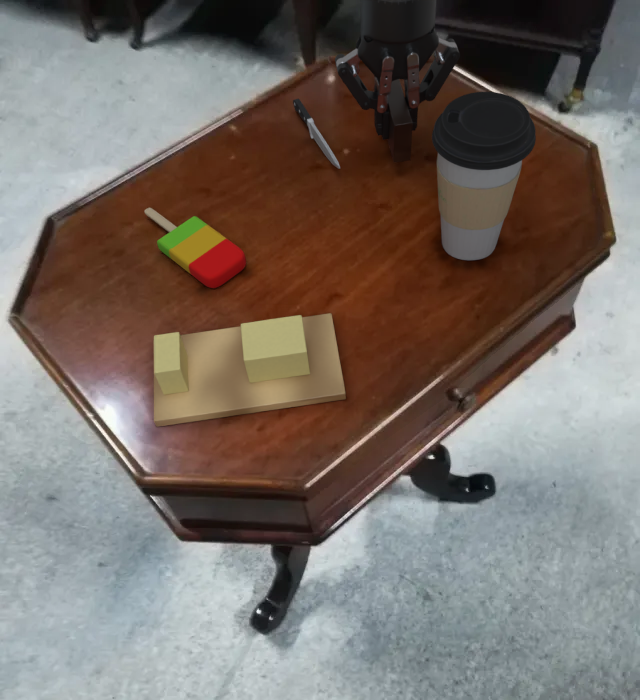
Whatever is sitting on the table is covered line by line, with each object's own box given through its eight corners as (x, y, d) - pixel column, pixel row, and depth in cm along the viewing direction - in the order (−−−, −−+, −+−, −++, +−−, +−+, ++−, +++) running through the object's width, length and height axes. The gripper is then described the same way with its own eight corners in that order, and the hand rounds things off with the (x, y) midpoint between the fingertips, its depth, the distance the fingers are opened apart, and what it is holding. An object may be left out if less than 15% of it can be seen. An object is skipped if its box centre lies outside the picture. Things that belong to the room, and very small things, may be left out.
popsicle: (213, 293, 79) (209, 281, 77) (129, 228, 85) (124, 215, 83) (252, 265, 80) (249, 252, 79) (167, 203, 87) (163, 190, 85)
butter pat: (187, 354, 73) (179, 331, 70) (188, 391, 71) (180, 369, 68) (163, 358, 73) (153, 335, 70) (163, 395, 71) (154, 373, 68)
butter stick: (304, 338, 73) (301, 314, 70) (310, 374, 71) (307, 351, 68) (246, 346, 73) (240, 323, 70) (249, 383, 71) (243, 360, 68)
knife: (343, 178, 87) (342, 164, 85) (337, 180, 87) (336, 166, 85) (299, 110, 94) (297, 95, 93) (293, 111, 94) (292, 97, 93)
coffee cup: (412, 224, 82) (417, 101, 69) (492, 202, 83) (511, 76, 70) (445, 283, 77) (457, 162, 64) (530, 259, 78) (558, 134, 65)
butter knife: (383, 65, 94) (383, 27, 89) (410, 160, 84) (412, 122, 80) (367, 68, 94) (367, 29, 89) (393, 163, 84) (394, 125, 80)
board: (332, 319, 75) (331, 312, 75) (346, 399, 70) (345, 393, 69) (155, 345, 75) (153, 338, 74) (156, 427, 70) (153, 421, 69)
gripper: (332, 8, 69) (341, 163, 84) (478, -13, 70) (462, 145, 84) (322, -32, 73) (332, 122, 88) (460, -52, 74) (447, 106, 88)
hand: (395, 133), depth 86 cm, fingers closed on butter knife, 2 cm apart
